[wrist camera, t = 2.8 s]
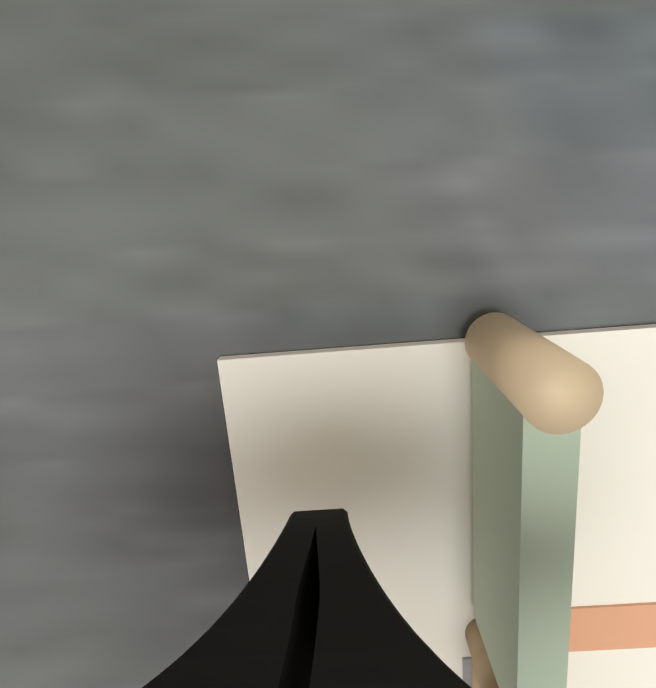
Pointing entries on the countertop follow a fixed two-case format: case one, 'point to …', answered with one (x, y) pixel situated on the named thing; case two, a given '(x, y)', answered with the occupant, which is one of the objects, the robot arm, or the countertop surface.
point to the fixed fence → (479, 658)
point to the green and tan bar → (525, 495)
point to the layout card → (451, 483)
